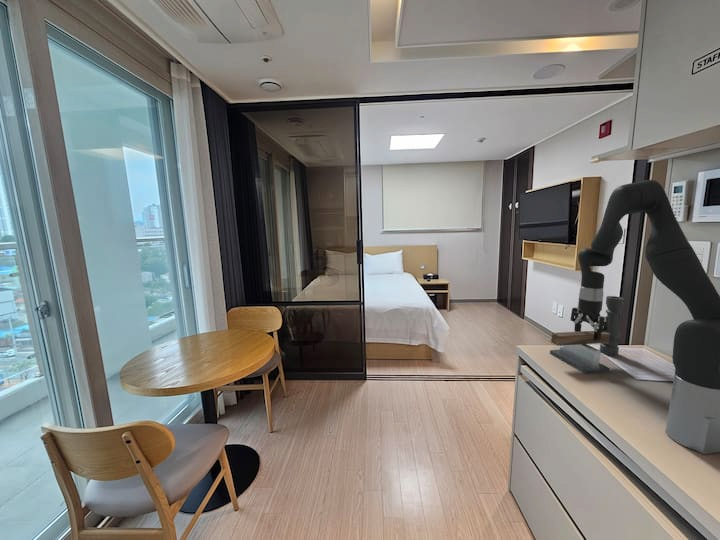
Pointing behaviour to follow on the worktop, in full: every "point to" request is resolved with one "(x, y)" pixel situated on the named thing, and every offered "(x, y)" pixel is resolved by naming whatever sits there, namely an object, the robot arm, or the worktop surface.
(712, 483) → the worktop surface
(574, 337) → the walnut beam
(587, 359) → the stand
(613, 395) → the worktop surface
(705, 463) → the worktop surface
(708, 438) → the robot arm
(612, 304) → the candle holder
